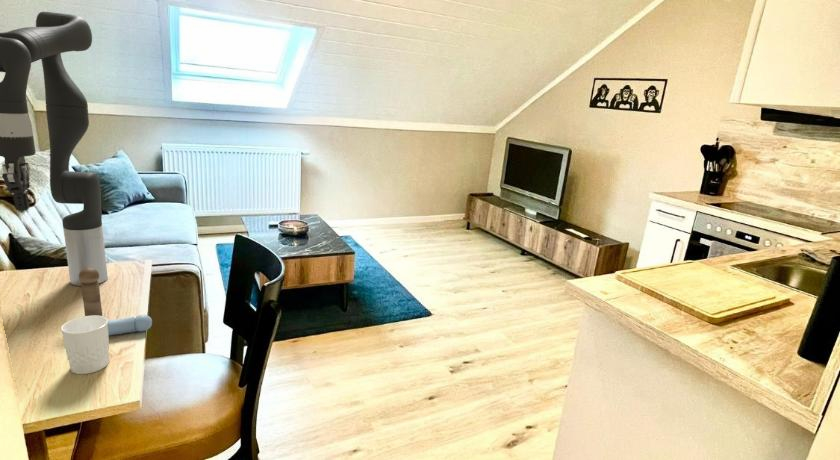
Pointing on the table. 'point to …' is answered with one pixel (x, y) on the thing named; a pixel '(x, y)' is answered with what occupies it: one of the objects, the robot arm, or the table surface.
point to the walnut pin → (90, 291)
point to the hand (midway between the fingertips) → (22, 209)
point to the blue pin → (129, 325)
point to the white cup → (86, 343)
